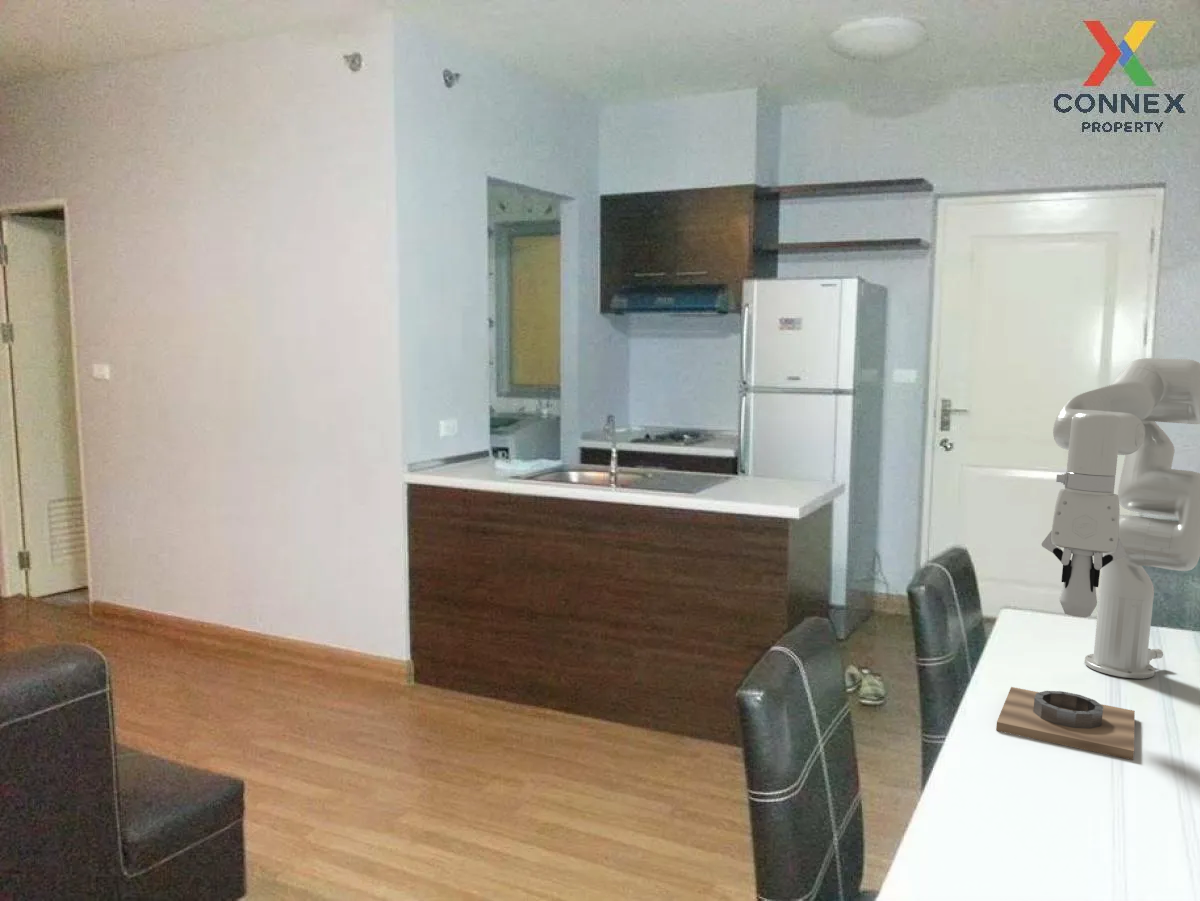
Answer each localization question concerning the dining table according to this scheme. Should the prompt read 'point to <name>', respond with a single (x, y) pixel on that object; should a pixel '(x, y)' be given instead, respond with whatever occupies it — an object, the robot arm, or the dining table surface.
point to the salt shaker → (1079, 586)
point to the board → (1104, 739)
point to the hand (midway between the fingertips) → (1079, 587)
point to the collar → (1083, 717)
